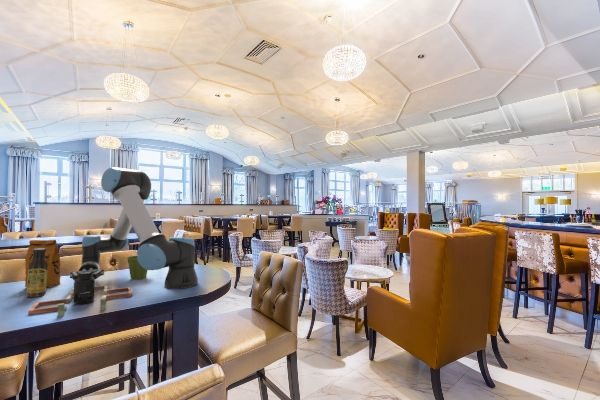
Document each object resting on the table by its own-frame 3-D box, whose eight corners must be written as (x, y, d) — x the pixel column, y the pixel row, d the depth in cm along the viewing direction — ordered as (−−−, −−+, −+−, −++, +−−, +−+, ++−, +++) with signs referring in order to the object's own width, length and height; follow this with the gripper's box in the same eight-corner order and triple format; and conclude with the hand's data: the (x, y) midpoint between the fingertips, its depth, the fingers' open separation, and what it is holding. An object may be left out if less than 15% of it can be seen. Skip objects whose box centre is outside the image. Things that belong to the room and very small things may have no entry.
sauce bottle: (24, 298, 121) (25, 250, 121) (29, 294, 126) (30, 248, 127) (44, 296, 124) (45, 249, 124) (49, 292, 129) (50, 247, 130)
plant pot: (138, 281, 148) (139, 259, 148) (120, 280, 151) (120, 258, 152) (156, 276, 159) (156, 255, 160) (138, 274, 163) (139, 254, 163)
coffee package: (50, 288, 135) (51, 240, 136) (20, 289, 134) (21, 241, 134) (64, 282, 145) (65, 238, 146) (36, 283, 144) (37, 238, 144)
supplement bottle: (82, 305, 113) (83, 274, 113) (68, 303, 114) (69, 273, 114) (98, 299, 119) (99, 270, 119) (85, 298, 121) (86, 269, 121)
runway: (44, 295, 125) (44, 286, 125) (130, 285, 141) (130, 277, 141) (22, 322, 97) (23, 309, 97) (133, 305, 114) (133, 294, 114)
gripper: (105, 276, 143) (102, 288, 123) (71, 280, 136) (62, 293, 116) (105, 261, 143) (102, 270, 123) (72, 263, 136) (63, 274, 116)
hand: (83, 281), depth 120 cm, fingers closed
